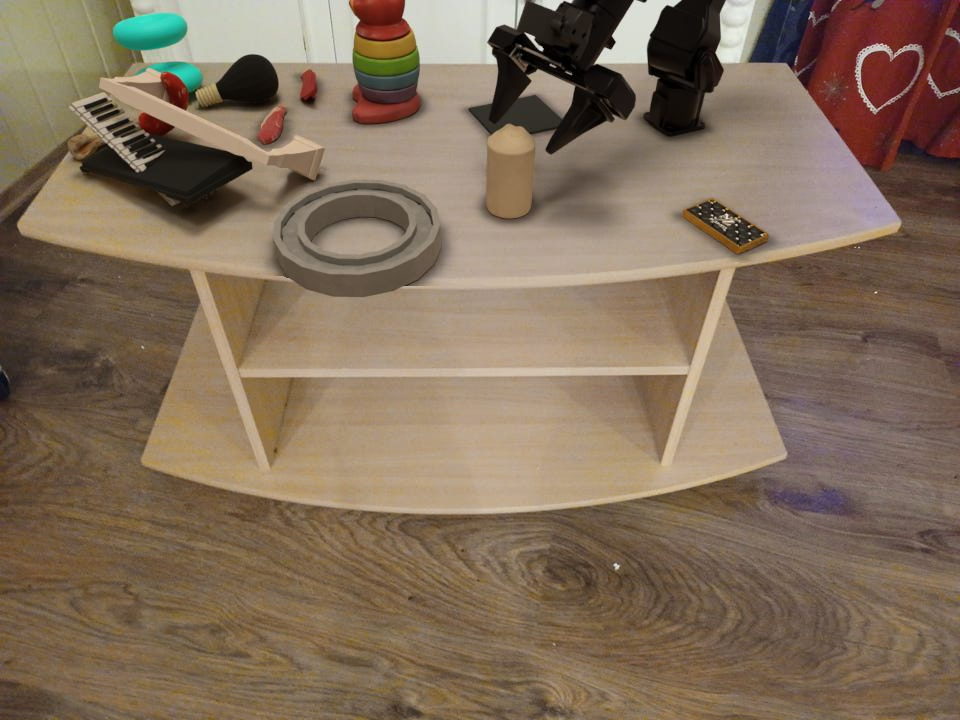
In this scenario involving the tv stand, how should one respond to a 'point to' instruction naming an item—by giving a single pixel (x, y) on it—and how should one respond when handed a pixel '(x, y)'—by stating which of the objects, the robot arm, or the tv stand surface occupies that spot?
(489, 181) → the candle
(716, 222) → the black flat block
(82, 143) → the brown bone
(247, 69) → the light bulb
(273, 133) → the steak
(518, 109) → the mat
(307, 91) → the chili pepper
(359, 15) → the stacking bear
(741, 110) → the tv stand surface
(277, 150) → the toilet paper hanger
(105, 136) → the synthesizer keyboard
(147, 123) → the vegetable
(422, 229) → the mechanical component
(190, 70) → the donuts
